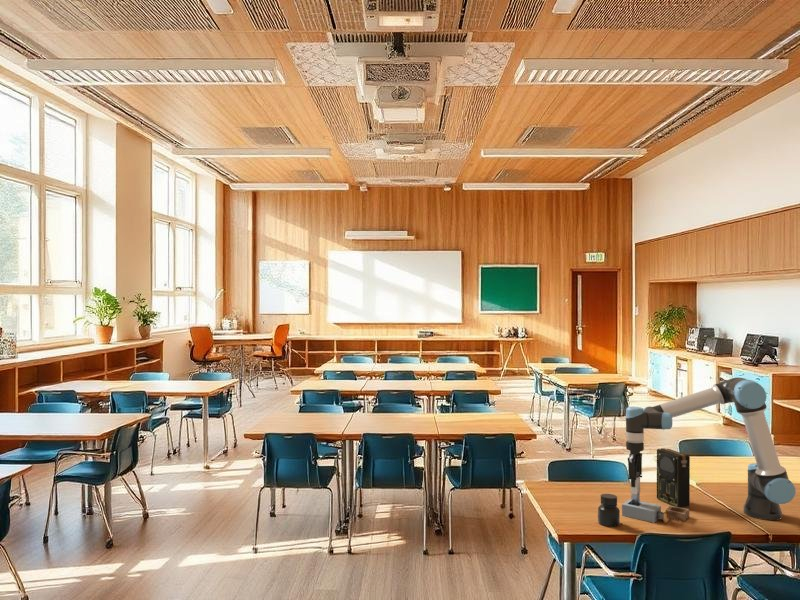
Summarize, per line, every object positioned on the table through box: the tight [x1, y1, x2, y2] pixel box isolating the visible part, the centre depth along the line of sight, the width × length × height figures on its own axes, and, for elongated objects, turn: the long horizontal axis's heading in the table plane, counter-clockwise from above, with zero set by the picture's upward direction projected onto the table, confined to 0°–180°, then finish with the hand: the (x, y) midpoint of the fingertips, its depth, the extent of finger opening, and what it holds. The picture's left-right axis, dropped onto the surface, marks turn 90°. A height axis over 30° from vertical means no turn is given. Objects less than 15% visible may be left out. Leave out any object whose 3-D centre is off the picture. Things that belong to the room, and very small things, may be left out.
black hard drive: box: [656, 447, 691, 508], centre depth 284 cm, size 16×9×25 cm, turn 16°
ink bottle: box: [597, 493, 621, 528], centre depth 256 cm, size 10×9×12 cm
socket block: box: [621, 498, 662, 524], centre depth 265 cm, size 14×10×5 cm
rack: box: [665, 505, 690, 523], centre depth 264 cm, size 8×8×4 cm
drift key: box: [657, 510, 670, 524], centre depth 261 cm, size 9×4×4 cm, turn 51°
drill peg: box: [630, 471, 641, 506], centre depth 267 cm, size 4×4×16 cm
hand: (635, 492), depth 267 cm, fingers closed on drill peg, 4 cm apart
